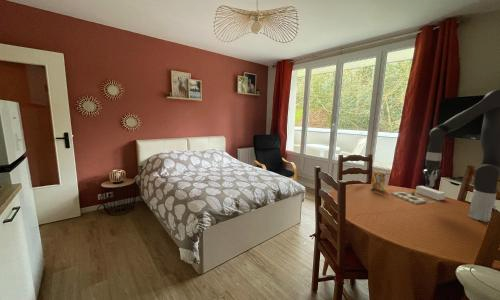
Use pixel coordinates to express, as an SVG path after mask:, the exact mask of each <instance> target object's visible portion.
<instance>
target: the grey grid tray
mask: <svg viewBox="0 0 500 300" xmlns="http://www.w3.org/2000/svg"><path fill="white" fill-rule="evenodd" d="M405 193H407V194H410V195H413V196H415V197H418V198H421V199H423V200H426V203H427V204H431V203H432V204H433V203H436V201H435V200H432V199H431V198H430V199H429V198H428V197H425V196H424V197H423V196H422V195H418V194H417V193H416V190H415V191H414V190H411V192H410V191H405Z"/></svg>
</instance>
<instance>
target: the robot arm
mask: <svg viewBox="0 0 500 300" xmlns="http://www.w3.org/2000/svg"><path fill="white" fill-rule="evenodd" d="M481 115H483V120H482V126H481V132H480V146H481V150H482V160H481V165H480V166H478V167H477V168H476V170H475V174H474V179H473V190H472V194H471V195H472V196H471V200H470V202H471V203H470V206H469V211H468V217H470V218H471V219H474V220H476V221H479V220H480V221H481V222H483V223H490V222H489V220H490V217H491V212H492V208H494V209H495V210H496V208H497V205H495V203H496V197H497V195H498V194H497V193H498V183H499V178H500V88H499V89H494V90H491V91H489V92H487V93H486V94H485V95H484V97H483V98H482V99H481V100H480V101H479V102H478V103H475V104H474V105H473V106H471V107H469V108H467V109H465V110H463V111H462V112H460V113H457V114H455V115H454V116H452V117H451V118H449V119H448V120H446V121H445V122H444V123H441V124H439V125H437V126H436V127H434V128H432V129H431V130H430V131H429V133H428V134H429V141H428V146H427V150H426V151H427V152H426V155H425V163H424V166H426V168H425V169H422V170H421V171H422V178H423V179H424V180H425V181H424V182H425V186H426V185H430V179H431V177H432V175H434V174H435V180H434V186H435V184H436V180H437V179H439V178H440V175H441V173H442V169H439V168H440V167H441V165H442V164H441V163H442V157H443V156H442V153H443V152H442V150H443V143H444V140H445V135H448V134H449V133H451V132H454V131H456V130H458V129H460V128H461V127H464V125H466V124H468V123H470V122H471V121H473V120H474V119H476V118H478V117H479V116H481ZM428 174H430V175H428ZM428 176H429V178H428ZM480 221H479V222H480Z"/></svg>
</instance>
